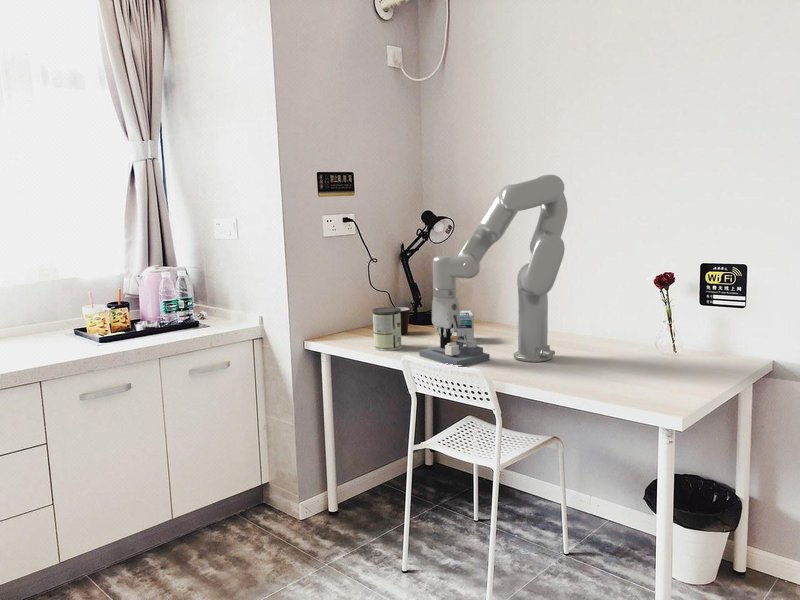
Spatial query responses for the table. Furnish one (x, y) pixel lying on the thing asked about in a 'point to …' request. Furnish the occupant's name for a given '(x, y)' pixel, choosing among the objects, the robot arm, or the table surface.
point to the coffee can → (387, 328)
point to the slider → (452, 349)
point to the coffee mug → (404, 319)
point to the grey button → (471, 344)
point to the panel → (462, 358)
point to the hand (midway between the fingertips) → (445, 347)
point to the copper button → (453, 339)
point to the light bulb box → (465, 327)
